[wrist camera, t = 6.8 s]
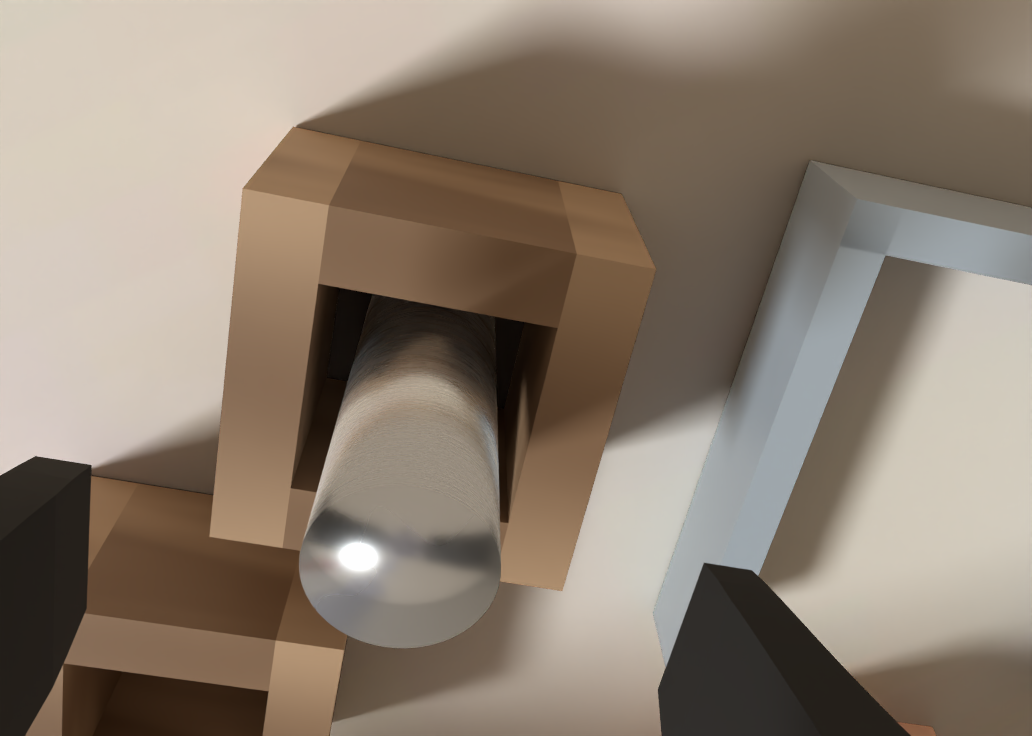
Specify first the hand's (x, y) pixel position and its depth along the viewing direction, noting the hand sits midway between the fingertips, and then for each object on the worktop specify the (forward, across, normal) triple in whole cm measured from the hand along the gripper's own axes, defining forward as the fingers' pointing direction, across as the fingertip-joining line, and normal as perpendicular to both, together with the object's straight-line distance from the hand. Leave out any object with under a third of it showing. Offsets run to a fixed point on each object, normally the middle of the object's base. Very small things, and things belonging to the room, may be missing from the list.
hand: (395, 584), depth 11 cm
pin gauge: (+8, 0, 0) cm, 8 cm away
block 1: (+8, +4, +8) cm, 12 cm away
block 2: (+8, 0, 0) cm, 8 cm away
